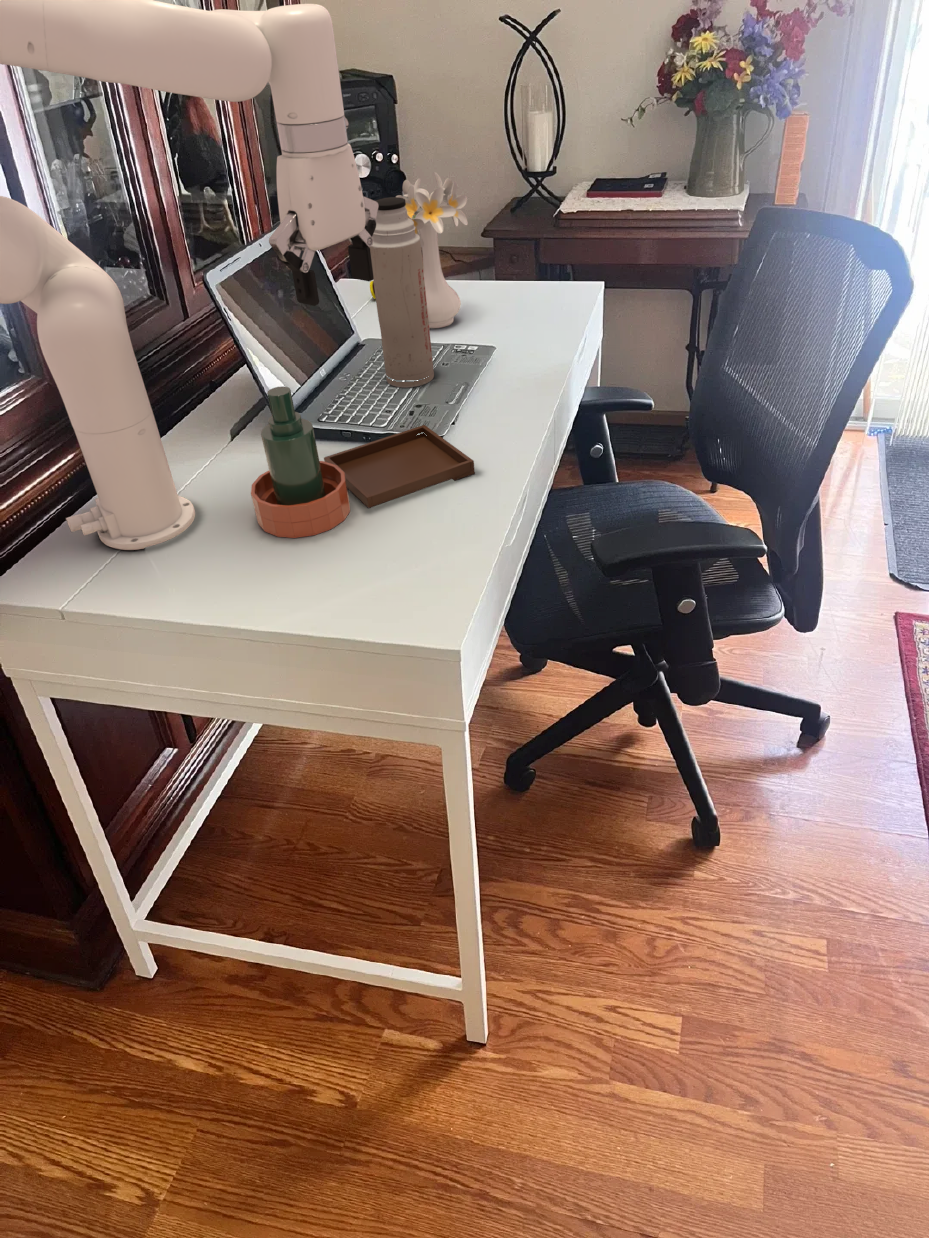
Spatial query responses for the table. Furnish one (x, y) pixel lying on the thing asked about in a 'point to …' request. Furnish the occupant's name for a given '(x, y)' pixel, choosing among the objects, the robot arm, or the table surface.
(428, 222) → the flower vase
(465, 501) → the table surface
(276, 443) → the bottle
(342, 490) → the bowl
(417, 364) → the thermos bottle
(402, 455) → the tray
